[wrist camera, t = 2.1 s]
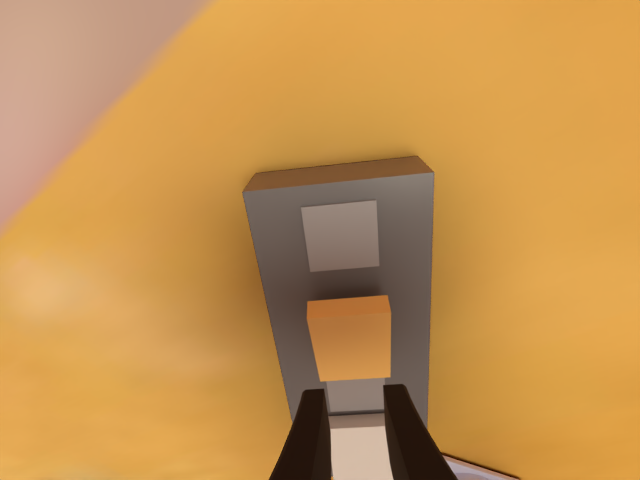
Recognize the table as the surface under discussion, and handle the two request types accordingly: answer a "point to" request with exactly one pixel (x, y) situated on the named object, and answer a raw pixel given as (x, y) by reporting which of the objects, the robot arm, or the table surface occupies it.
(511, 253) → the table surface
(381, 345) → the block
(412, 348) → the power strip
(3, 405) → the table surface
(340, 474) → the beige rectangular slab
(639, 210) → the table surface
